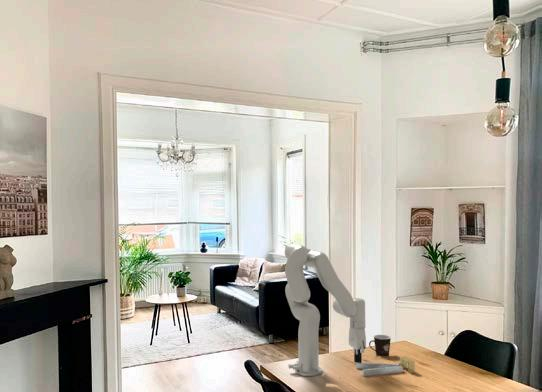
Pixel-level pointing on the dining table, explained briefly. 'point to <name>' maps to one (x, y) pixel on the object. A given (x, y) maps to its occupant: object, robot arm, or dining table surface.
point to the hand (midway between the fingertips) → (357, 362)
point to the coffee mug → (381, 345)
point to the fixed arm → (382, 370)
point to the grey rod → (374, 365)
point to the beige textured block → (411, 364)
